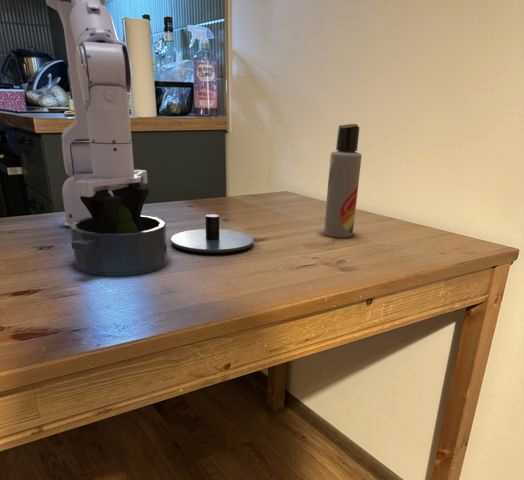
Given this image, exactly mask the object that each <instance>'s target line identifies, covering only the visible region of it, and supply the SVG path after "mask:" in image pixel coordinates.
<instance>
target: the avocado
mask: <svg viewBox="0 0 524 480" xmlns="http://www.w3.org/2000/svg"><path fill="white" fill-rule="evenodd" d="M135 232H138V230H137V227H136V225H135V223H134V222H133V221H132V215H131V212H130V211H129V209H128V208H127V207H125V206H123V205H120V204H119V209H118V215H117V234H121V233H135Z"/></svg>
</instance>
